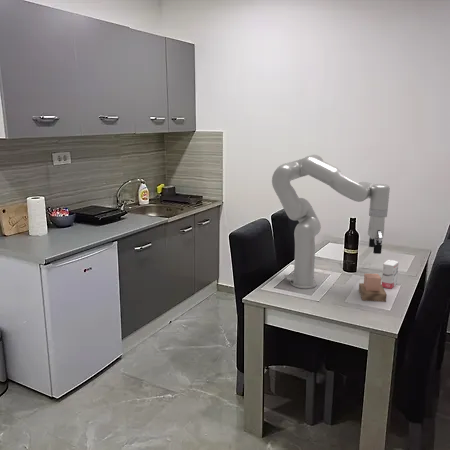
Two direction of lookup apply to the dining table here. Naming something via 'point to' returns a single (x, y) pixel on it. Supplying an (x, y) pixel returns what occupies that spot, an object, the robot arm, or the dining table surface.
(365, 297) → the walnut block
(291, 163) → the robot arm
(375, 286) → the clay cube
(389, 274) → the ink box
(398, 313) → the dining table surface
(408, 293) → the dining table surface
